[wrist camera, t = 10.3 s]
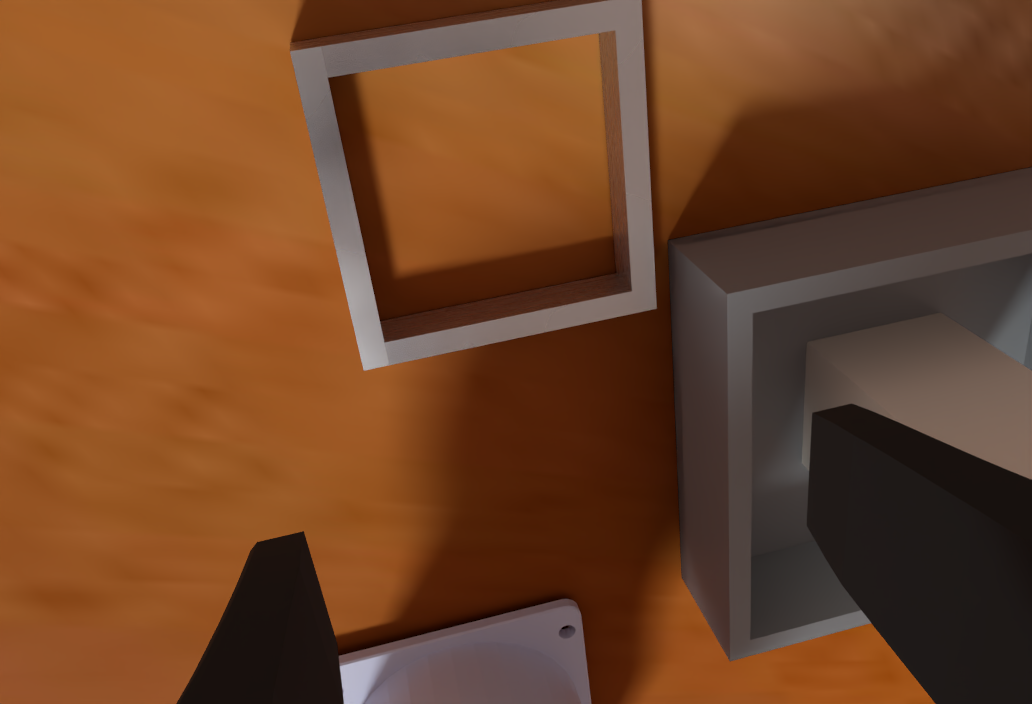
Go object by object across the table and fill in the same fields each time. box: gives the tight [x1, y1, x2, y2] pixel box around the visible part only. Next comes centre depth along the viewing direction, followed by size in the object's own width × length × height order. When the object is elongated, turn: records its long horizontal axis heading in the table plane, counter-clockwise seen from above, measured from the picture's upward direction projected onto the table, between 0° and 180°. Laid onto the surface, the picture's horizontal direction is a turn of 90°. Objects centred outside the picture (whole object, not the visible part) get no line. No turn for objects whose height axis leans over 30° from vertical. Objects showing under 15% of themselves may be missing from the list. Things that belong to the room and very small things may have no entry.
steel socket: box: [290, 0, 657, 370], centre depth 20 cm, size 7×7×1 cm
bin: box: [668, 167, 1032, 661], centre depth 24 cm, size 11×11×4 cm
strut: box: [802, 313, 1032, 480], centre depth 22 cm, size 4×4×8 cm
